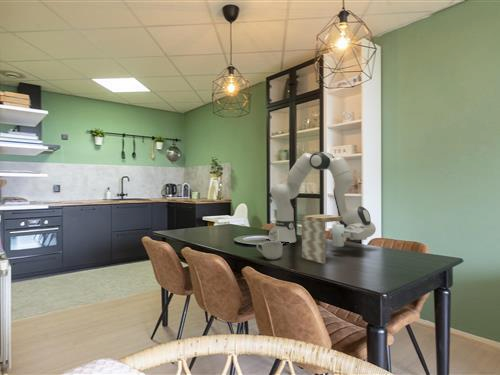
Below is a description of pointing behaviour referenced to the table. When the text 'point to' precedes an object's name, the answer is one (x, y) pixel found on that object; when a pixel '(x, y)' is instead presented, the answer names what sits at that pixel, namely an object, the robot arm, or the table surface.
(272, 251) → the teacup
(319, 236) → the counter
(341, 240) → the pale grey upright cylinder
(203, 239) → the table surface
